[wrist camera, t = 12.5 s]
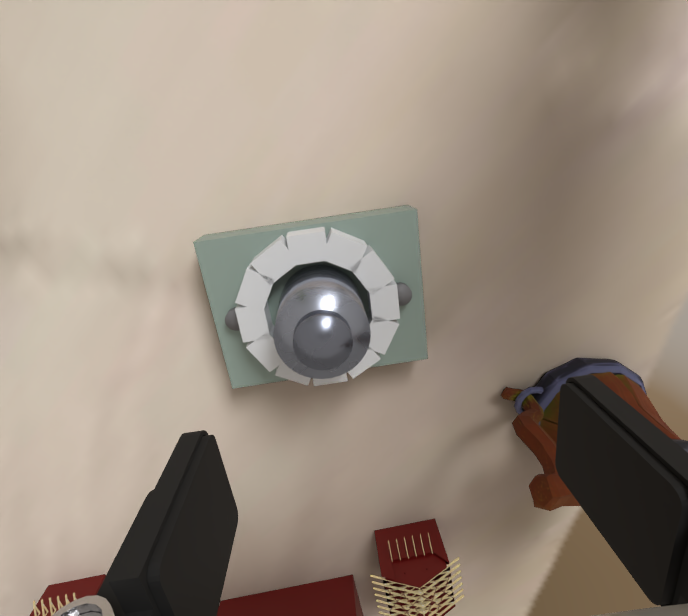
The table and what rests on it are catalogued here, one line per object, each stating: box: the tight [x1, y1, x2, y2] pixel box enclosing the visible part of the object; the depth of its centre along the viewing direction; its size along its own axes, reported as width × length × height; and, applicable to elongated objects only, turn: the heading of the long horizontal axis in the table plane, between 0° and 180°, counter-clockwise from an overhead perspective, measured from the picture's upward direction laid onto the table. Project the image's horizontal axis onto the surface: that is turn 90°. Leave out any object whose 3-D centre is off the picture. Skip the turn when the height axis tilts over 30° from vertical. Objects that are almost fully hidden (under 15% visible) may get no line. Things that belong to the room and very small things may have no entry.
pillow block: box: [193, 205, 428, 389], centre depth 31 cm, size 16×12×5 cm
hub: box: [274, 265, 371, 379], centre depth 27 cm, size 6×6×7 cm
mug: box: [501, 358, 688, 511], centre depth 32 cm, size 18×12×15 cm, turn 73°
